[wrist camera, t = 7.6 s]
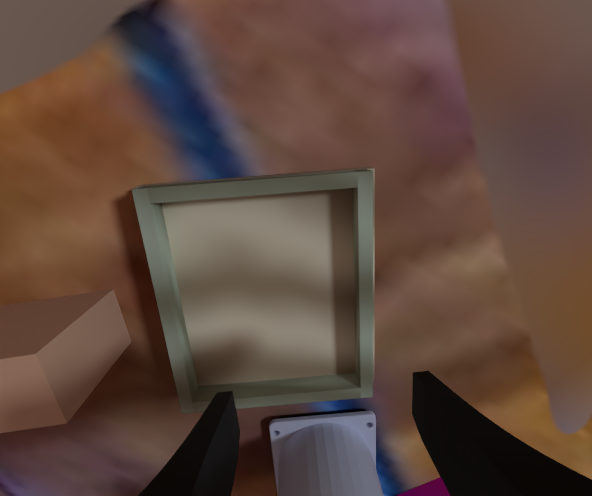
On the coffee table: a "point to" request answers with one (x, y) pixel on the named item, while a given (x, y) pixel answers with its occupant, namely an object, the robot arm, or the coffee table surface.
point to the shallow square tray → (264, 285)
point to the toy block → (429, 489)
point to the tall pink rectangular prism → (56, 356)
